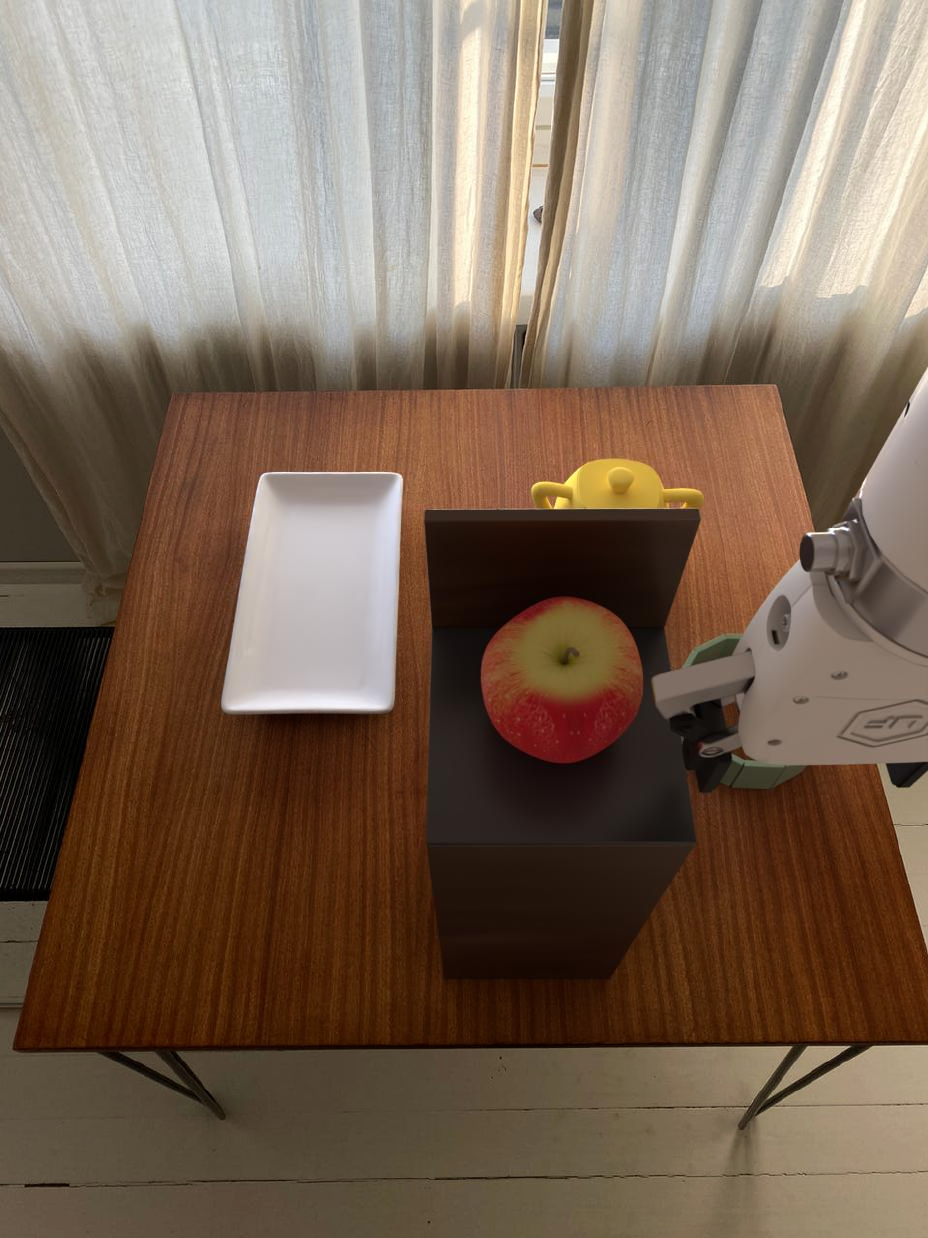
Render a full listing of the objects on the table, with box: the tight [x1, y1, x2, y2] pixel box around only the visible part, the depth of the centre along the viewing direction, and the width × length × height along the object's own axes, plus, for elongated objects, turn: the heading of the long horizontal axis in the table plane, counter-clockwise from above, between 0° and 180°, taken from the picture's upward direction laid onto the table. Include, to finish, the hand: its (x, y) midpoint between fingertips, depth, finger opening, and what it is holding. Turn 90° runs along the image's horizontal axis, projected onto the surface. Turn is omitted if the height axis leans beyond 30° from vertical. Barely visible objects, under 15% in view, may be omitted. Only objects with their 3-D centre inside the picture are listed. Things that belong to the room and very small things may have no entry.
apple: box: [481, 597, 643, 763], centre depth 45 cm, size 8×8×10 cm
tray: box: [220, 471, 404, 715], centre depth 94 cm, size 17×32×4 cm, turn 0°
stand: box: [423, 507, 702, 980], centre depth 59 cm, size 14×14×44 cm
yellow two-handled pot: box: [530, 458, 705, 510], centre depth 94 cm, size 14×14×12 cm
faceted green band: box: [681, 633, 808, 790], centre depth 84 cm, size 14×14×5 cm
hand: (795, 762), depth 44 cm, fingers open, 9 cm apart
